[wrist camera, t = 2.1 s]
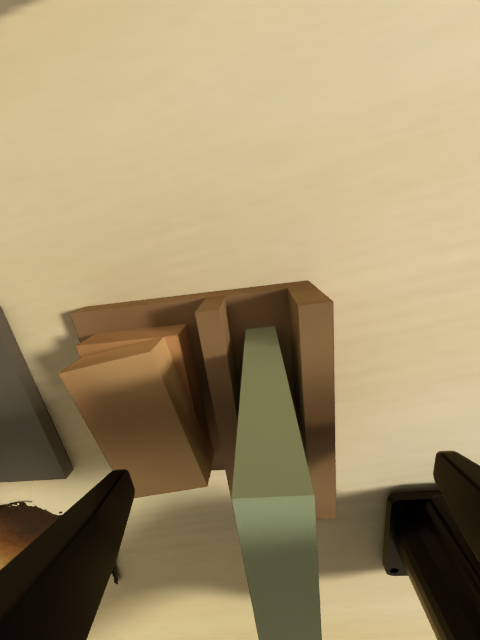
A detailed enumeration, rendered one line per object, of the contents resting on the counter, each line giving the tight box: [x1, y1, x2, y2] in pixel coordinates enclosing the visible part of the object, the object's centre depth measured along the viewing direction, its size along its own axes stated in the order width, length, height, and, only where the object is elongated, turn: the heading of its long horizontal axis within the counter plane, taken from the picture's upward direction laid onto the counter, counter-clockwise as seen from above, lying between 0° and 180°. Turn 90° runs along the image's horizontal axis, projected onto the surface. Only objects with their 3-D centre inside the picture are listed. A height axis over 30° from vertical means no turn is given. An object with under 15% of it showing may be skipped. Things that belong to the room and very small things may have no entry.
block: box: [232, 326, 322, 640], centre depth 8 cm, size 6×1×7 cm, turn 7°
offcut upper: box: [59, 337, 212, 498], centre depth 10 cm, size 6×3×1 cm, turn 15°
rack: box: [70, 281, 336, 519], centre depth 11 cm, size 9×10×4 cm
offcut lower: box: [76, 324, 214, 478], centre depth 11 cm, size 7×4×1 cm, turn 7°
